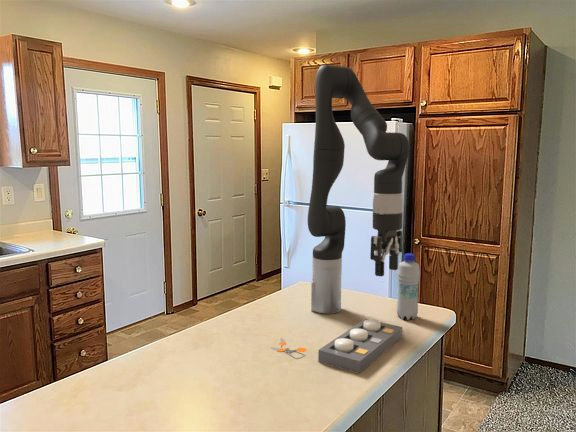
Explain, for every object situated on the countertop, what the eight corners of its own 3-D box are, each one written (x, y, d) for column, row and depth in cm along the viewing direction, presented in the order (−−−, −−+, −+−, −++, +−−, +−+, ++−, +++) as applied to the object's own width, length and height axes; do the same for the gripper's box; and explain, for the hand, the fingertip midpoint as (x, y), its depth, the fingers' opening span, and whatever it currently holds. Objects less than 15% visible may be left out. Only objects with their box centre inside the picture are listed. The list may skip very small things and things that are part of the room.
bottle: (416, 313, 150) (418, 251, 147) (420, 321, 143) (422, 256, 141) (394, 313, 151) (396, 250, 148) (397, 320, 144) (399, 255, 141)
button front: (348, 355, 115) (348, 347, 114) (331, 350, 117) (331, 342, 117) (356, 348, 118) (356, 341, 118) (340, 344, 121) (340, 336, 121)
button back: (376, 334, 128) (376, 327, 127) (360, 330, 130) (360, 323, 130) (383, 329, 131) (383, 322, 131) (367, 325, 134) (367, 318, 134)
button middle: (362, 344, 121) (362, 336, 121) (346, 340, 124) (346, 332, 123) (370, 338, 125) (370, 331, 125) (354, 334, 127) (354, 327, 127)
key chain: (315, 353, 122) (315, 350, 122) (294, 362, 117) (294, 358, 117) (283, 338, 131) (283, 335, 131) (261, 345, 127) (261, 342, 126)
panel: (359, 373, 110) (359, 360, 110) (318, 361, 116) (318, 349, 116) (401, 337, 131) (402, 326, 131) (365, 328, 138) (365, 318, 137)
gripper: (385, 208, 131) (385, 266, 133) (361, 212, 120) (360, 276, 122) (412, 209, 127) (410, 269, 129) (389, 214, 115) (388, 280, 117)
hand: (386, 272), depth 125 cm, fingers open, 8 cm apart
